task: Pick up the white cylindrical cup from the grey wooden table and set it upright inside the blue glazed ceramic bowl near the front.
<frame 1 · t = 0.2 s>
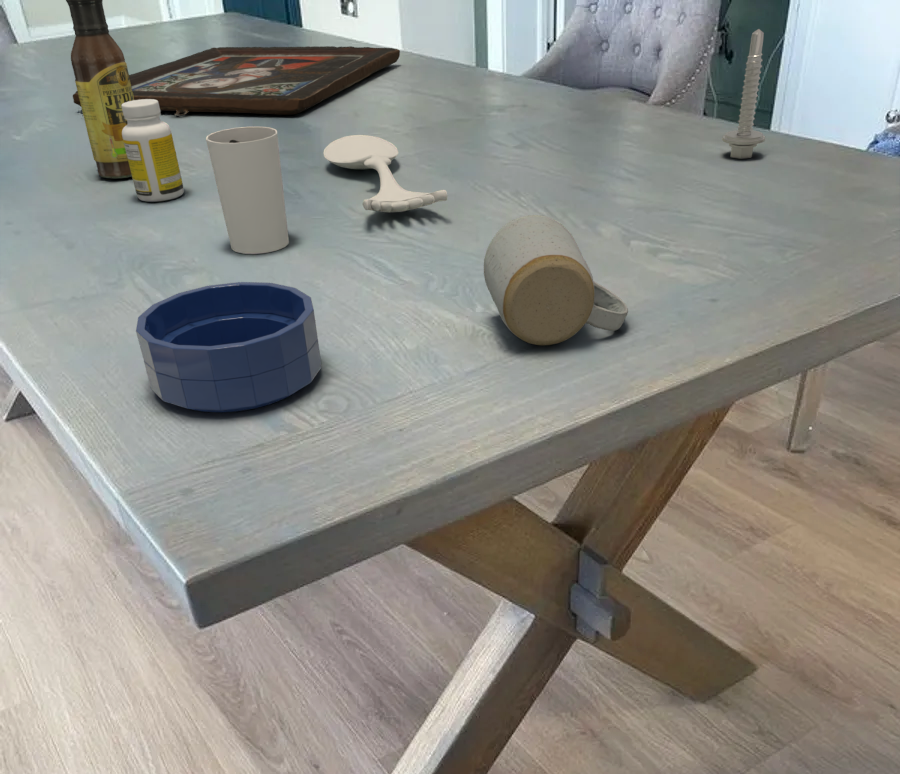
ceramic mug: (555, 329, 73), on the table
supplement bottle: (161, 198, 109), on the table
cream back scratcher: (379, 190, 107), on the table
white cylindrical cup: (260, 246, 93), on the table
bowl: (238, 379, 69), on the table
religious icon: (248, 89, 160), on the table
sauce bottle: (125, 176, 117), on the table
screw: (741, 158, 111), on the table
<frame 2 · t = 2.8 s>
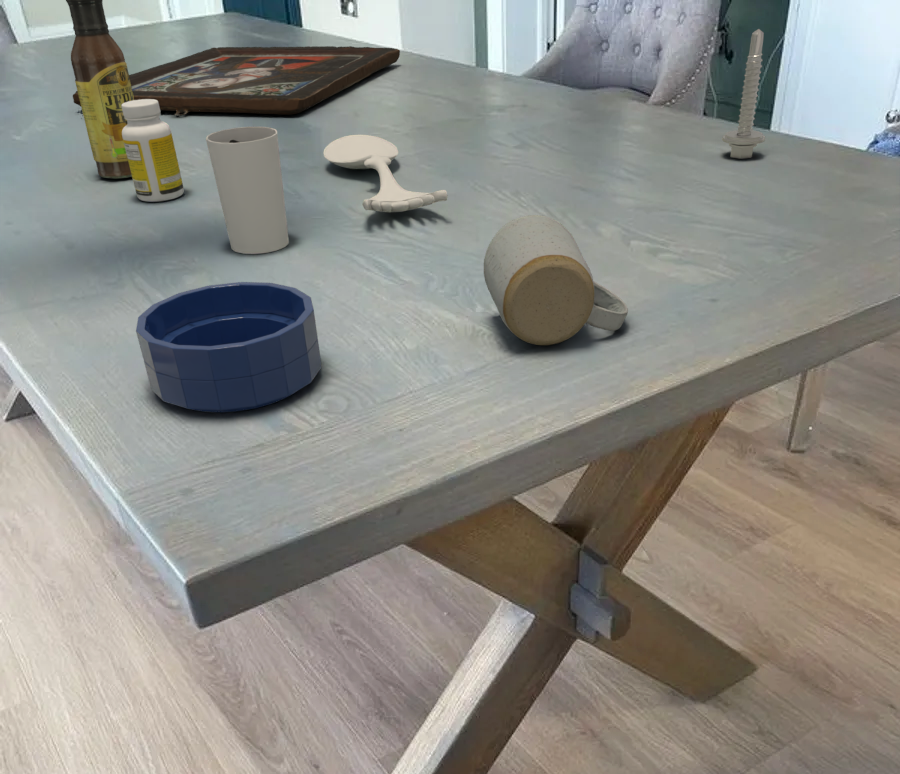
nothing on the table moved.
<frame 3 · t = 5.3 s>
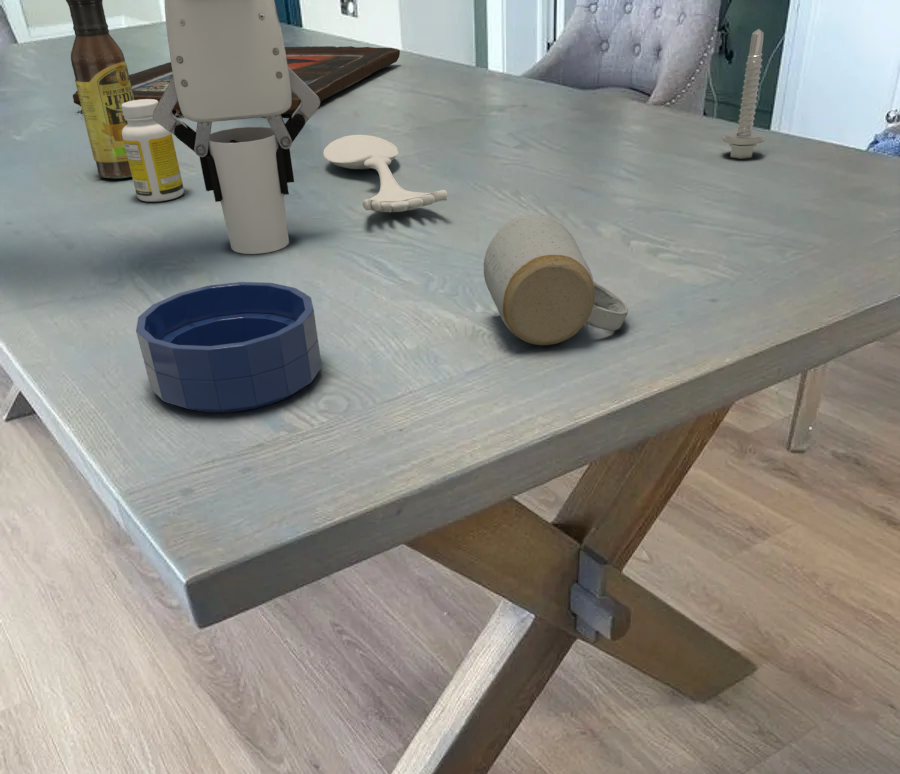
hand: (251, 192, 90), 5 cm above the table, tool pointing down, fingers closed on white cylindrical cup, 5 cm apart
white cylindrical cup: (260, 246, 93), on the table, touching gripper
everything else where it was.
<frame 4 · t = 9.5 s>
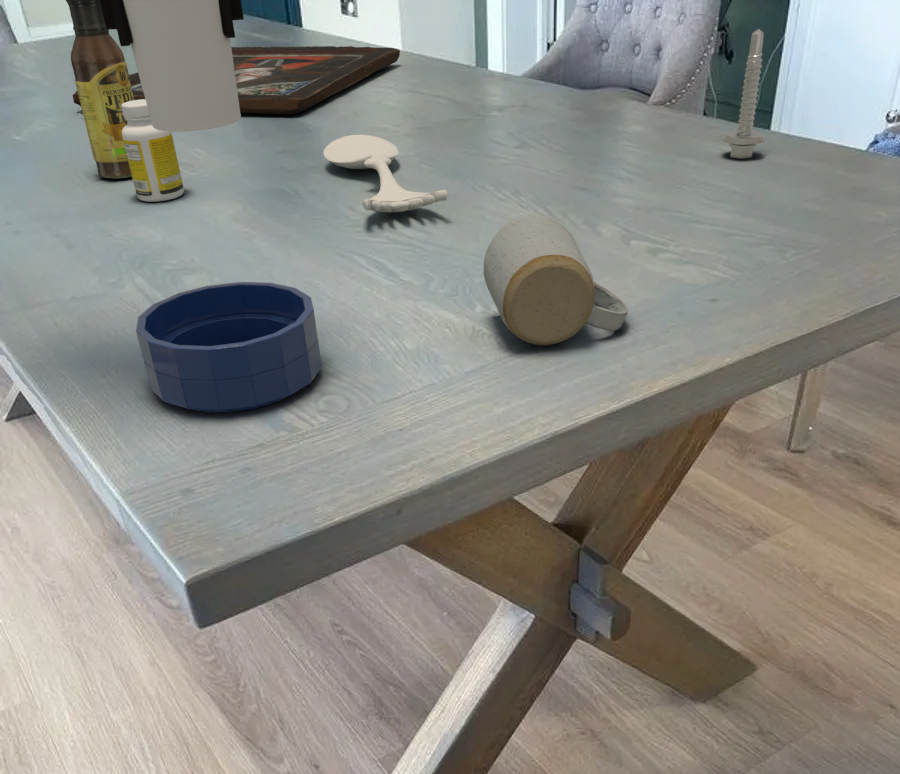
hand: (178, 35, 58), 21 cm above the table, tool pointing down, fingers closed on white cylindrical cup, 5 cm apart
white cylindrical cup: (198, 124, 62), point 16 cm above the table, touching gripper
everything else where it was.
when the fingers open (5 cm above the table, at t = 13.8 s): white cylindrical cup stays where it is, resting on bowl.
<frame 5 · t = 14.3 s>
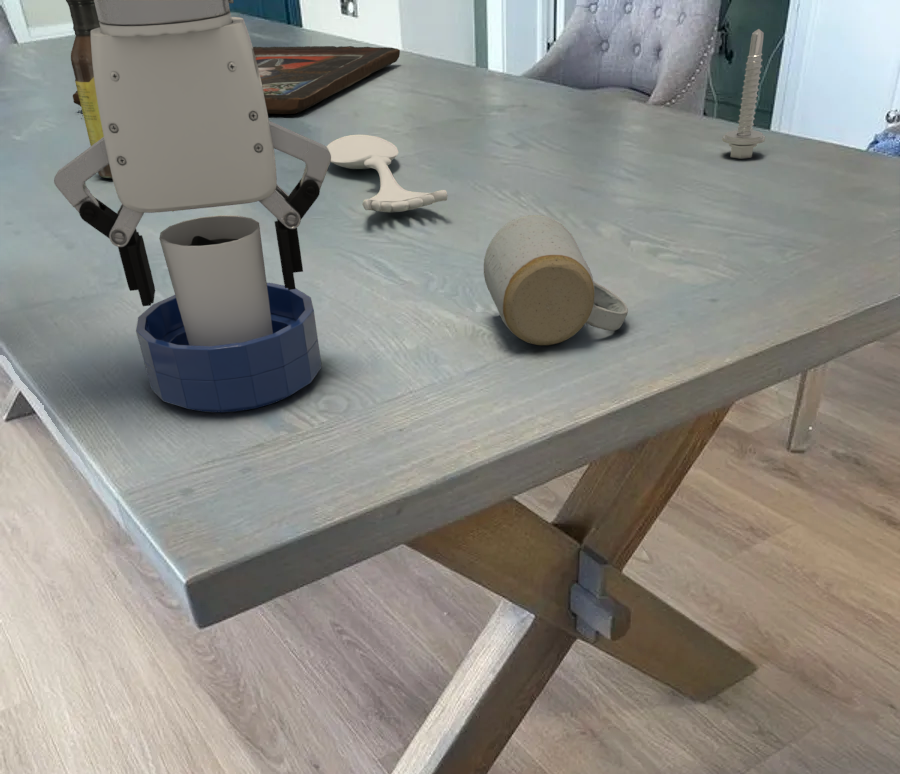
hand: (220, 290, 65), 7 cm above the table, tool pointing down, fingers open, 9 cm apart
white cylindrical cup: (238, 373, 68), resting on bowl
everything else where it was.
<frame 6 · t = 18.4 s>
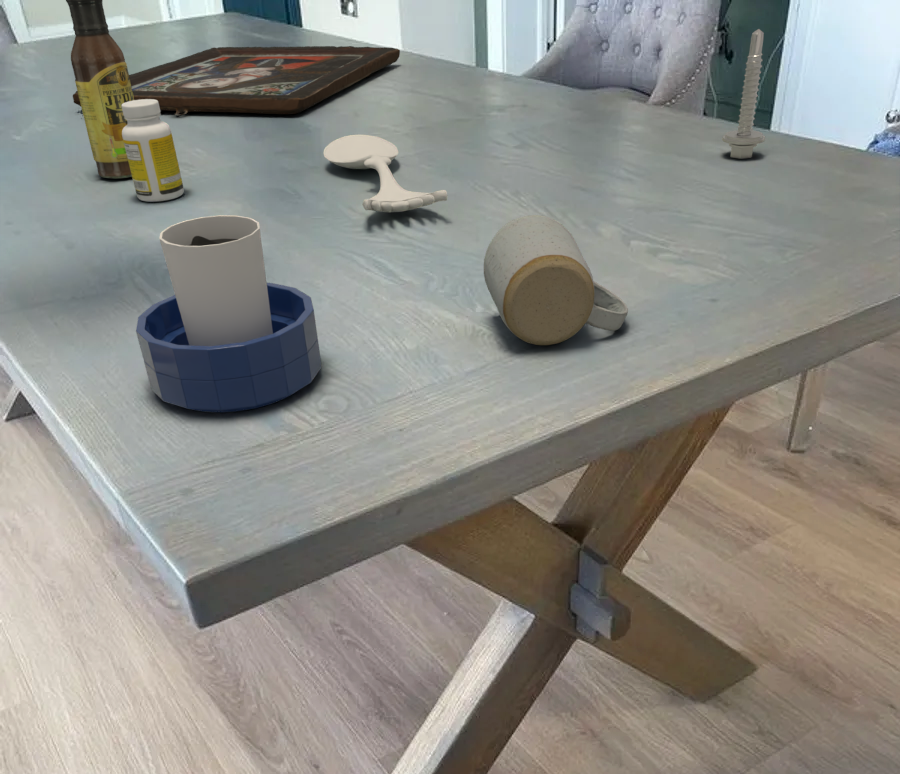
nothing on the table moved.
at the end: white cylindrical cup 0.1 cm off-centre in the bowl, point 0.4 cm above the bowl's base; white cylindrical cup tilted 0°; the gripper is holding nothing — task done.
